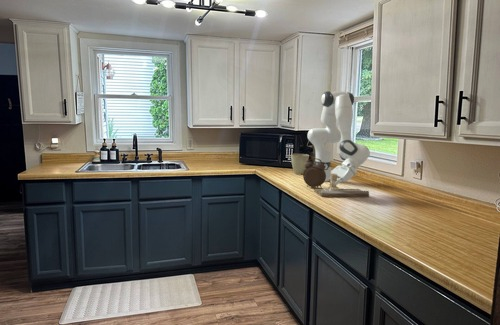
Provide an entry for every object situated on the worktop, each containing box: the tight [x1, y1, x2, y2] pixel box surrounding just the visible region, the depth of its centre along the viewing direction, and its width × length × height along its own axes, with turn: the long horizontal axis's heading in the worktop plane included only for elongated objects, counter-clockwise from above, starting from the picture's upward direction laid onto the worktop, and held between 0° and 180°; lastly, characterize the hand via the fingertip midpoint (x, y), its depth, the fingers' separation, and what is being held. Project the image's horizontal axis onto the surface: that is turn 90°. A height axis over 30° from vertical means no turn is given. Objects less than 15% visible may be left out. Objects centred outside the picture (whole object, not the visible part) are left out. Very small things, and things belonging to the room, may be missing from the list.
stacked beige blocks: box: [326, 174, 340, 191], centre depth 215 cm, size 6×5×11 cm
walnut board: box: [313, 188, 370, 198], centre depth 218 cm, size 14×30×4 cm, turn 99°
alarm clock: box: [302, 157, 326, 189], centre depth 234 cm, size 15×7×20 cm, turn 53°
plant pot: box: [290, 153, 310, 175], centre depth 289 cm, size 15×15×16 cm
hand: (332, 182), depth 215 cm, fingers open, 8 cm apart
